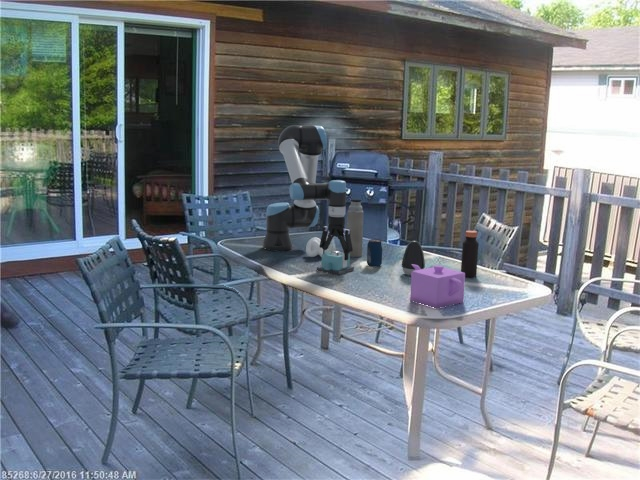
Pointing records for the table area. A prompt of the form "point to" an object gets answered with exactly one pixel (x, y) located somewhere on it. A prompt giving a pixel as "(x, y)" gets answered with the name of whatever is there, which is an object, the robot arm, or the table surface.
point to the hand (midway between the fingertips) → (335, 265)
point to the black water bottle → (470, 254)
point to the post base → (336, 253)
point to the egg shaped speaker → (413, 257)
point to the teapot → (437, 286)
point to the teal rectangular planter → (333, 261)
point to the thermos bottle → (355, 227)
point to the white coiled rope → (314, 247)
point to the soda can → (374, 253)
